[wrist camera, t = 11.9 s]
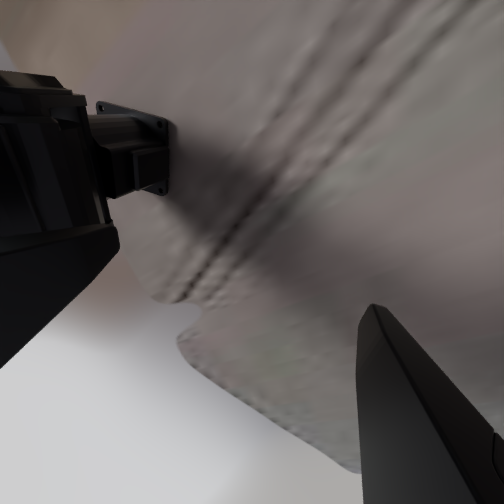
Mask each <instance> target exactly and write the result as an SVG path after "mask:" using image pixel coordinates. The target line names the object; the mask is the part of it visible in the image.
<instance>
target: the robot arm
mask: <svg viewBox="0 0 504 504" xmlns="http://www.w3.org/2000/svg"><path fill="white" fill-rule="evenodd" d="M86 106H87V102H86V98H85V95H80V94H73V93H72V90H69V89H66V88H64V87H63V86H62V85H61V84H60V82H59V81H58V80H57V79H56V78H55V77H53V76H46V75H37V74H29V73H21V72H12V71H3V70H0V369H1V368H2V367H3V366H4V365H5V364H6V363H7V362H8V361H9V360H10V359H11V358H12V357H13V356H14V355H15V354H17V353H18V352H19V351H20V350H21V349H22V348H23V347H24V346H25V345H26V344H27V343H28V342H29V341H30V340H31V339H32V338H33V337H34V336H36V334H38V333H39V332H40V331H41V330H42V329H43V328H44V327H45V326H46V325H47V324H48V323H49V322H50V321H51V320H52V319H53V318H54V317H56V316H57V315H58V314H59V313H60V312H61V311H62V310H63V309H64V308H65V307H66V306H67V305H68V304H69V303H70V302H71V301H72V300H73V299H75V297H77V296H78V295H79V294H80V293H81V292H82V291H83V290H84V289H85V288H86V287H87V286H88V285H89V284H90V283H91V282H92V281H93V280H94V279H95V278H96V277H97V276H98V274H99V273H100V272H101V271H102V270H103V269H104V267H105V266H106V265H107V264H108V263H109V262H110V261H111V259H112V258H113V257H114V256H115V255H116V254H117V253H118V251H119V249H120V242H119V237H118V231H117V229H116V227H115V226H114V224H113V220H112V219H111V217H110V212H109V208H108V204H107V200H108V199H110V198H112V199H116V198H119V197H121V196H124V195H126V194H129V193H131V192H134V191H139V190H145V191H148V192H151V193H154V194H157V195H160V196H164V195H166V194H167V193H168V178H169V148H168V122H167V120H166V119H165V118H163V117H159V116H155V115H152V114H148V113H145V112H141V111H137V110H134V109H130V108H126V107H123V106H119V105H115V104H112V103H108V102H104V101H98V102H97V103H96V111H97V115H87V111H86ZM102 106H103V108H104V110H103V108H102ZM160 122H162V124H163V127H161V126H160ZM161 188H162V189H163V192H162V190H161ZM356 392H357V408H358V424H359V440H360V456H361V471H362V487H363V503H364V504H504V440H503V439H502V438H501V436H500V435H499V434H498V433H495V432H494V429H493V427H492V426H491V425H490V424H489V423H488V422H487V421H486V420H485V418H484V417H483V416H482V415H481V414H480V413H479V412H478V411H477V409H476V408H475V407H474V406H473V405H472V404H471V403H470V401H469V400H468V399H467V398H466V397H465V396H464V395H463V394H462V392H461V391H460V390H459V389H458V388H457V387H456V386H455V385H454V383H453V382H452V381H451V380H450V379H449V378H448V377H447V376H446V374H445V373H444V372H443V371H442V370H441V369H440V368H439V366H438V365H437V364H436V363H435V362H434V361H433V360H432V359H431V357H430V356H429V355H428V354H427V353H426V352H425V351H424V350H423V348H422V347H421V346H420V345H419V344H418V343H417V342H416V340H415V339H414V338H413V337H412V336H411V335H410V334H409V333H408V331H407V330H406V329H405V328H404V327H403V326H402V325H401V324H400V322H399V321H398V320H397V319H396V318H395V317H394V316H393V314H392V313H391V312H390V311H389V310H388V309H387V308H386V307H384V306H380V305H377V304H370V305H369V307H368V308H367V310H366V312H365V314H364V315H363V317H362V319H361V320H360V323H359V326H358V339H357V357H356Z"/></svg>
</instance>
